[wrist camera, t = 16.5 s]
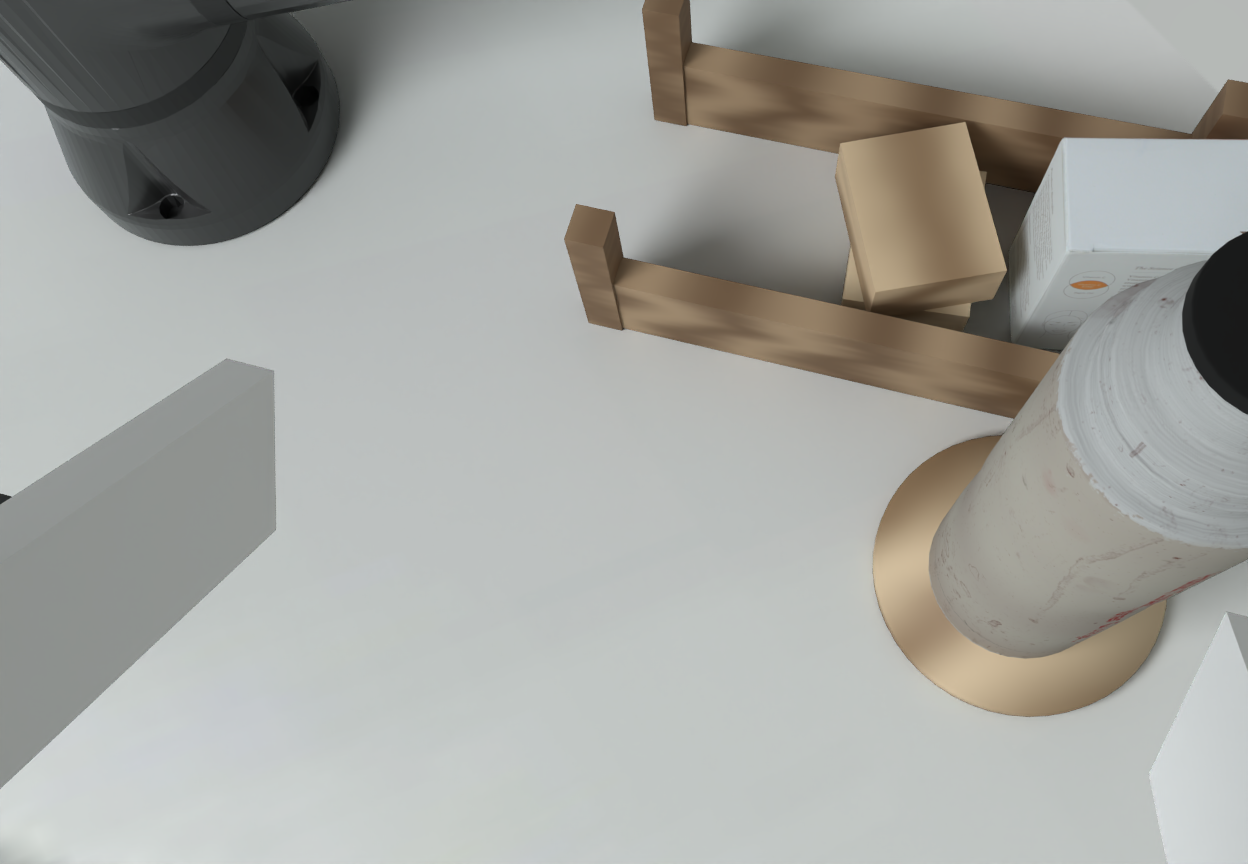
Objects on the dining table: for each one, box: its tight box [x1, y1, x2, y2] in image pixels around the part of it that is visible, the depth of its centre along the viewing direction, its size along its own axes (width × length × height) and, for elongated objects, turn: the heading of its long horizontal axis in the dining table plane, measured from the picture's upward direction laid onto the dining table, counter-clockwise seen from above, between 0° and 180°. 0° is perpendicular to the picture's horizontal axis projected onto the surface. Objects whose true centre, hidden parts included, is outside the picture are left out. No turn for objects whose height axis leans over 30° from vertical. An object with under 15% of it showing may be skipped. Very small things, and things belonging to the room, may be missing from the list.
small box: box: [1009, 137, 1248, 350], centre depth 51 cm, size 8×6×10 cm
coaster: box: [873, 435, 1167, 717], centre depth 52 cm, size 13×13×1 cm
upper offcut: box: [835, 122, 1007, 316], centre depth 54 cm, size 6×8×3 cm
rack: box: [564, 0, 1248, 419], centre depth 54 cm, size 28×14×9 cm, turn 74°
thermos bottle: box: [928, 231, 1248, 659], centre depth 38 cm, size 8×8×28 cm
